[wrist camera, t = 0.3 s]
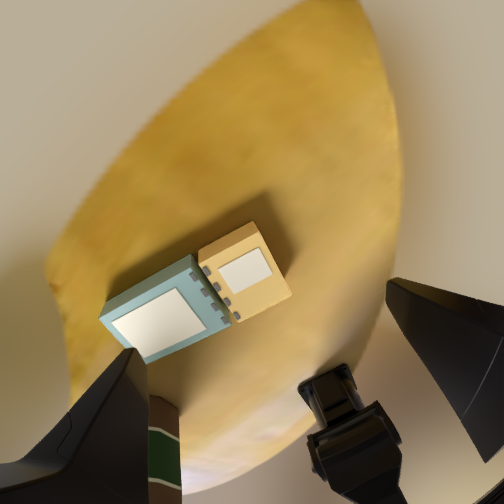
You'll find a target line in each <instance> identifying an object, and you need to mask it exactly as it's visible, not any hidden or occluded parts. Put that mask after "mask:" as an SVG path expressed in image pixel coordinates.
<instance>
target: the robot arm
mask: <svg viewBox="0 0 504 504" xmlns="http://www.w3.org/2000/svg"><path fill="white" fill-rule="evenodd" d="M385 299H386V304H387V306H388V308H389V310H390V311H391V313H392V315H393V317H394V318H395V320H396V322H397V324H398V325H399V327H400V329H401V331H402V332H403V334H404V336H405V337H406V339H407V340H408V341H409V343H410V344H411V346H412V347H413V349H414V350H415V351H416V353H417V354H418V356H419V357H420V358H421V360H422V362H423V363H424V365H425V366H426V367H427V369H428V370H429V372H430V373H431V375H432V376H433V378H434V379H435V381H436V382H437V384H438V386H439V387H440V389H441V390H442V391H443V393H444V395H445V396H446V398H447V400H448V401H449V403H450V404H451V406H452V407H453V409H454V411H455V412H456V414H457V416H458V417H459V419H460V420H461V423H462V424H463V426H464V428H465V429H466V431H467V433H468V434H469V436H470V438H471V440H472V441H473V443H474V445H475V446H476V448H477V450H478V452H479V454H480V456H481V458H482V459H483V461H484V462H485V463H487V462H488V461H489V460H491V459H492V458H493V457H494V456H495V455H496V454H497V453H499V452H500V451H501V450H502V449H503V448H504V306H502V305H497V304H493V303H489V302H486V301H482V300H479V299H477V300H476V299H475V298H471V297H468V296H464V295H461V294H457V293H453V292H450V291H446V290H443V289H439V288H435V287H432V286H428V285H424V284H420V283H417V282H413V281H409V280H406V279H402V278H399V277H396V278H393V279H390V280H388V281H387V283H386V298H385ZM297 390H298V392H299V394H300V395H301V397H302V398H303V399H304V401H305V402H306V403H307V405H308V406H309V407H310V409H311V410H312V411H313V413H314V416H315V418H316V420H317V423H318V425H319V428H320V431H318V432H316V433H314V434H310V435H308V436H307V438H308V442H307V446H308V449H309V452H310V456H311V466H312V471H313V472H314V473H315V474H318V475H319V476H320V477H321V478H322V480H323V481H324V482H326V481H328V482H329V485H330V487H331V489H332V490H333V491H335V492H336V493H338V494H339V495H341V496H343V497H345V498H346V499H348V500H349V501H351V502H353V503H355V504H407V501H406V499H405V498H404V495H403V494H402V491H401V489H400V487H399V482H400V475H401V467H402V453H401V451H400V449H399V448H398V446H399V445H400V444H402V441H401V438H400V436H399V433H398V432H397V430H396V428H395V426H394V424H393V423H392V421H391V420H390V418H389V417H388V415H387V414H386V412H385V411H384V409H383V408H382V406H381V405H380V403H379V402H378V401H377V400H376V401H374V402H373V403H372V404H371V405H369V406H367V407H365V405H364V403H363V401H362V400H361V398H360V396H359V394H358V393H357V391H356V390H357V387H356V384H355V381H354V379H353V376H352V374H351V371H350V369H349V366H348V365H347V364H342V365H341V366H339V367H337V368H335V369H333V370H331V371H329V372H328V373H326V374H324V375H322V376H320V377H318V378H316V379H314V380H312V381H310V382H308V383H306V384H304V385H302V386H300V387H298V389H297ZM148 429H149V394H148V377H147V366H146V364H145V362H144V360H143V358H142V357H141V355H140V353H139V351H138V350H137V348H135V347H131V348H125V349H124V350H123V351H122V352H121V353H120V354H119V355H118V356H117V357H116V358H115V360H114V361H113V362H112V363H111V364H110V365H109V366H108V367H107V368H106V369H105V371H104V372H103V373H102V374H101V375H100V376H99V377H98V378H97V379H96V381H95V382H94V383H93V384H92V385H91V386H90V387H89V388H88V390H87V391H86V392H85V393H84V394H83V395H82V396H81V397H80V399H79V400H78V401H77V402H76V403H75V404H74V405H73V406H72V408H71V409H70V410H69V412H67V413H66V414H65V416H64V417H63V418H62V419H61V420H60V421H59V422H58V423H57V425H56V426H55V427H54V428H53V429H52V430H51V431H50V432H49V433H48V434H47V435H46V436H45V437H44V438H43V439H42V440H41V441H40V442H39V443H38V444H37V445H36V446H35V447H34V448H33V449H32V450H31V451H30V452H29V453H28V454H27V455H25V456H24V457H23V458H21V459H20V460H18V461H15V462H11V463H3V464H0V504H149V482H148ZM473 504H504V478H503V479H502V480H501V481H500V482H499V483H498V484H496V485H495V486H494V487H493V488H492V489H491V490H490V491H488V492H487V493H486V494H485V495H483V496H482V497H481V498H480V499H478V500H477V501H476V502H475V503H473Z"/></svg>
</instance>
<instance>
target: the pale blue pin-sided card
mask: <svg viewBox="0 0 504 504" xmlns="http://www.w3.org/2000/svg"><path fill="white" fill-rule="evenodd" d="M98 319H99V320H100V321H101V322H102V323H103V324H104V325H105V327H106V328H107V329H108V330H109V331H110V332H111V333H112V334H113V335H114V336H115V337H116V339H117V340H118V341H119V342H120V343H121V344H122V345H123V346H124V347H125V348H131V347H135V348H137V350H138V351H139V353H140V355H141V357H142V358H143V360H144V362H145V364H149V363H151V362H153V361H155V360H158V359H160V358H162V357H165V356H167V355H169V354H171V353H173V352H176V351H178V350H180V349H182V348H185V347H187V346H189V345H191V344H193V343H195V342H198V341H200V340H202V339H204V338H206V337H208V336H210V335H212V334H214V333H217V332H219V331H221V330H223V329H225V328H227V327H229V326H231V321H230V315H229V310H228V307H227V306H226V304H225V303H224V302H223V300H222V299H221V297H220V296H219V294H218V293H217V291H216V290H215V288H214V287H213V285H212V284H211V283H210V281H209V280H208V278H207V277H206V275H205V274H204V272H203V271H202V269H201V268H200V266H199V265H198V263H197V262H196V260H195V259H194V257H193V256H192V254H189V255H187V256H186V257H184V258H182V259H180V260H178V261H177V262H175V263H173V264H171V265H169V266H168V267H166V268H164V269H162V270H161V271H159V272H157V273H155V274H154V275H152V276H150V277H148V278H147V279H145V280H143V281H141V282H140V283H138V284H136V285H134V286H133V287H131V288H129V289H127V290H126V291H124V292H122V293H121V294H119V295H117V296H115V297H114V298H112V299H110V300H109V301H107V302H105V305H104V307H103V309H102V311H101V314H100V316H99V318H98Z"/></svg>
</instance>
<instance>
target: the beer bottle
mask: <svg viewBox="0 0 504 504" xmlns="http://www.w3.org/2000/svg"><path fill="white" fill-rule="evenodd" d="M148 482H149V504H182V484H181V467H180V442H179V416H178V410H177V408H176V407H174V406H173V405H171V404H170V403H168V402H167V401H165V400H164V399H162V398H161V397H156V396H149V429H148Z"/></svg>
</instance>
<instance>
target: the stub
mask: <svg viewBox="0 0 504 504" xmlns="http://www.w3.org/2000/svg"><path fill="white" fill-rule="evenodd" d="M198 264H199V266H200V267H201V269H202V270H203V272H204V273H205V275H206V276H207V278H208V279H209V280H210V282H211V283H212V285H213V286H214V288H215V289H216V291H217V292H218V294H219V295H220V297H221V298H222V300H223V301H224V302H225V304H226V305H227V307H228V308H229V310H230V311H231V313H232V314H233V315H234V317H235V318H236V320H237V321H238V322H239V323H240V322H242V321H244V320H246V319H248V318H250V317H252V316H254V315H256V314H258V313H260V312H262V311H264V310H265V309H267V308H269V307H271V306H273V305H275V304H277V303H279V302H281V301H283V300H285V299H287V298H289V297H290V296H292V294H291V292H290V290H289V288H288V286H287V284H286V282H285V280H284V278H283V276H282V274H281V272H280V270H279V268H278V266H277V264H276V263H275V261H274V259H273V257H272V255H271V253H270V251H269V249H268V247H267V245H266V243H265V242H264V240H263V238H262V236H261V234H260V232H259V230H258V228H257V227H256V225H255V223H254V222H253V221H251V222H249V223H248V224H246V225H244V226H242V227H240V228H238V229H236V230H234V231H233V232H231V233H229V234H227V235H225V236H223V237H222V238H220V239H218V240H216V241H214V242H212V243H211V244H209V245H207V246H205V247H203V248H201V249H200V250H198Z"/></svg>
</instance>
